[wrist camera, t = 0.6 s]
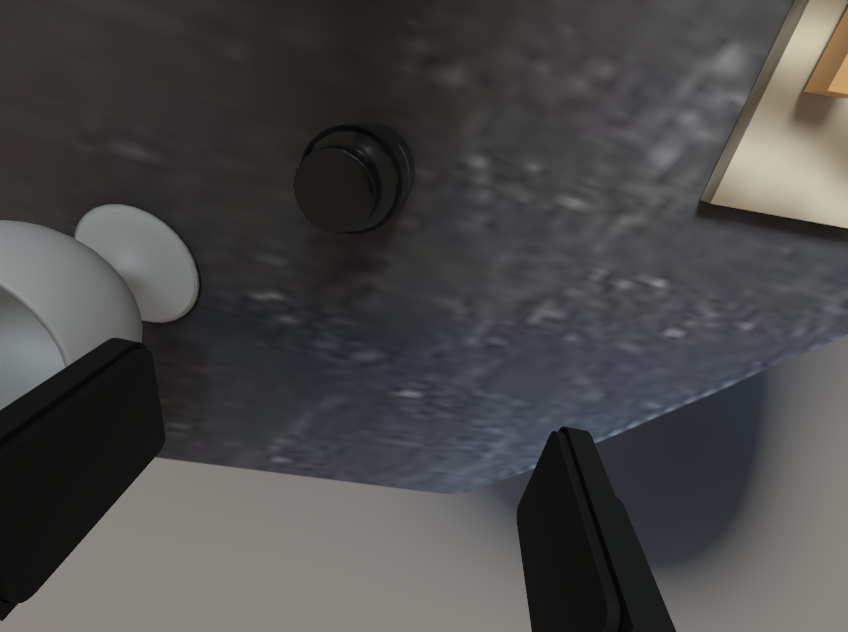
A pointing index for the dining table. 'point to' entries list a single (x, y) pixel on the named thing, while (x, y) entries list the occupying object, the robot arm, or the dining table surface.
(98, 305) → the chalice
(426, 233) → the dining table surface
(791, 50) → the pivot board
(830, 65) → the link
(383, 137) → the supplement bottle
